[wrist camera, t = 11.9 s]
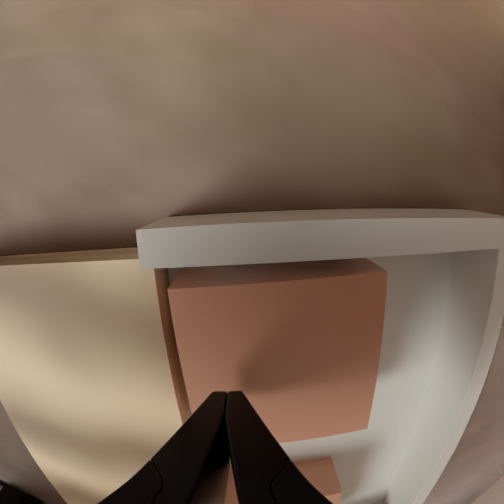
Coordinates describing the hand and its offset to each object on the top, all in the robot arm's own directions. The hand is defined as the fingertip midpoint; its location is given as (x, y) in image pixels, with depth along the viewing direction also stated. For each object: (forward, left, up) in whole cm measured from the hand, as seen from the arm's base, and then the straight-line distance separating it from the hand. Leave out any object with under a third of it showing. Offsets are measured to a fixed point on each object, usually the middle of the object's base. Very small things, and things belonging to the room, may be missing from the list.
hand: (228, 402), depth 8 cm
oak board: (-5, +7, -4) cm, 9 cm away
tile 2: (0, -2, -3) cm, 4 cm away
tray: (-5, -4, -4) cm, 7 cm away
